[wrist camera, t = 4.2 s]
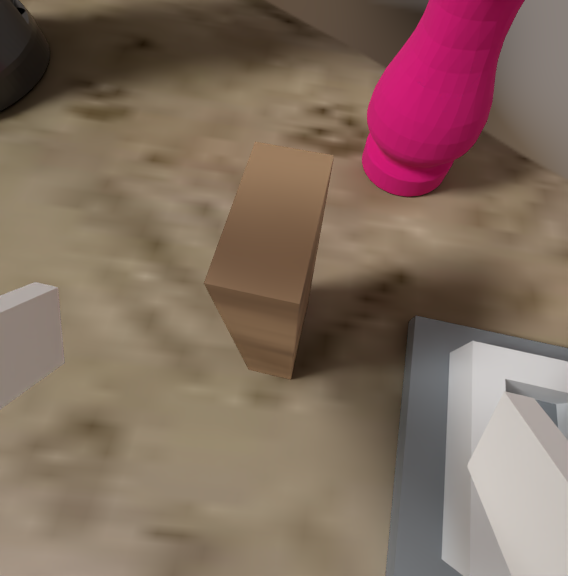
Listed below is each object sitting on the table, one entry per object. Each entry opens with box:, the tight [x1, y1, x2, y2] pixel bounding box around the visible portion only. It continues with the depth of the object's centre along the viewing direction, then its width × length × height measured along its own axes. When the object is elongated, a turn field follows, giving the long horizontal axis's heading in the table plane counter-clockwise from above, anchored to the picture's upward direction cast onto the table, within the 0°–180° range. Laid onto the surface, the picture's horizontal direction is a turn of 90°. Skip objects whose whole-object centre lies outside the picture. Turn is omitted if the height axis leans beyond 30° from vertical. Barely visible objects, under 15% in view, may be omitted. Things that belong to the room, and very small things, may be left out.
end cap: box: [386, 316, 568, 576], centre depth 16 cm, size 13×11×4 cm
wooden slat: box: [204, 142, 334, 380], centre depth 15 cm, size 5×2×12 cm, turn 167°
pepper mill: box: [362, 0, 525, 197], centre depth 17 cm, size 7×7×20 cm
